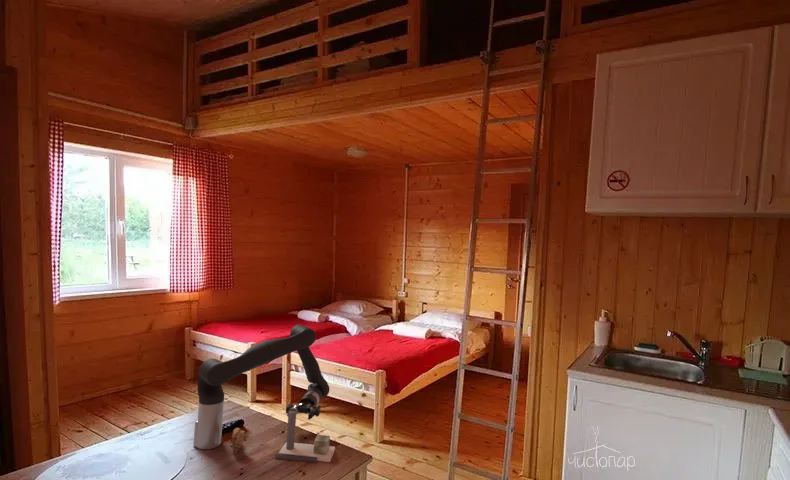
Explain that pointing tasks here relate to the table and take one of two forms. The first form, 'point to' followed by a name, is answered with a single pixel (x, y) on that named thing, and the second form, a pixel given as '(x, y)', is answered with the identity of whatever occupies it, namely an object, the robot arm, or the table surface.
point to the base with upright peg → (301, 448)
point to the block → (321, 444)
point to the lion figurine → (238, 439)
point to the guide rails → (296, 457)
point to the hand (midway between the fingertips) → (298, 416)
